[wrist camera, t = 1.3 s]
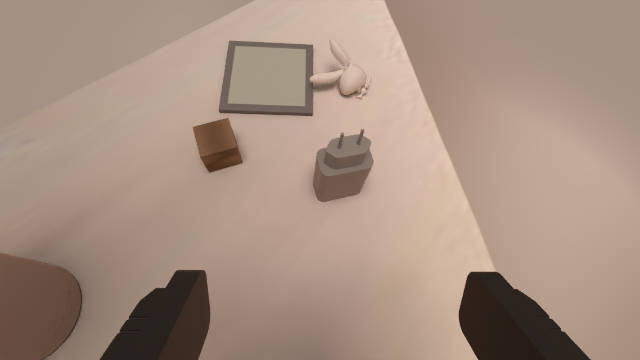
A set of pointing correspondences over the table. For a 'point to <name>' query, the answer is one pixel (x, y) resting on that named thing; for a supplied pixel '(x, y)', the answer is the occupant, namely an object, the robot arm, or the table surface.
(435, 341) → the table surface
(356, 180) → the power adapter
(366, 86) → the rabbit figurine
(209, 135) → the walnut block
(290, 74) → the pad
